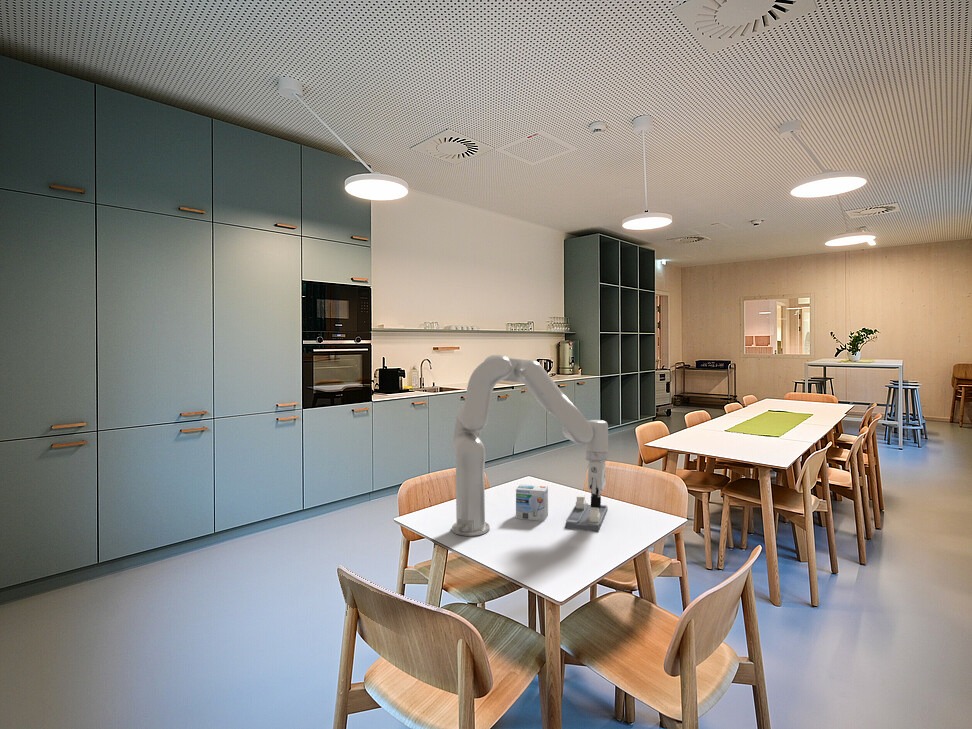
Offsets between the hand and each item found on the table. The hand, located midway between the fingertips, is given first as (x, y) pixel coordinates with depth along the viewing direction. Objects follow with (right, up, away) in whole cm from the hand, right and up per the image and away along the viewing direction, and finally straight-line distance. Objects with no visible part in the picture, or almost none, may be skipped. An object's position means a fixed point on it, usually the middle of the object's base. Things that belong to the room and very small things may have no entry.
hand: (595, 507), depth 175 cm
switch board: (-2, -4, +2) cm, 5 cm away
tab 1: (-3, -2, +9) cm, 10 cm away
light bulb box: (-22, -5, +4) cm, 23 cm away
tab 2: (-1, -3, -5) cm, 6 cm away
